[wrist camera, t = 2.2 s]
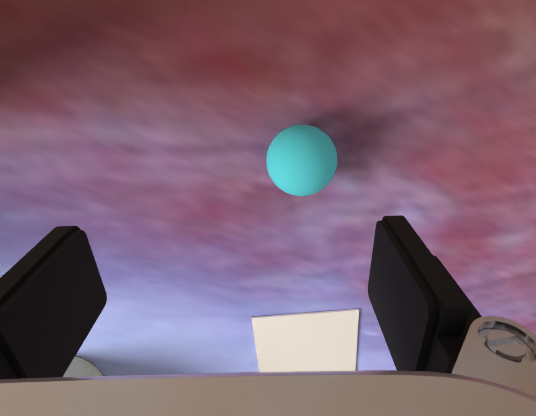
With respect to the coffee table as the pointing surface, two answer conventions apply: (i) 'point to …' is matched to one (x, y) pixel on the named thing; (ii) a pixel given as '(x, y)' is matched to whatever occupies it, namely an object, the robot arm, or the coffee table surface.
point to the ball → (301, 160)
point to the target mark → (307, 341)
